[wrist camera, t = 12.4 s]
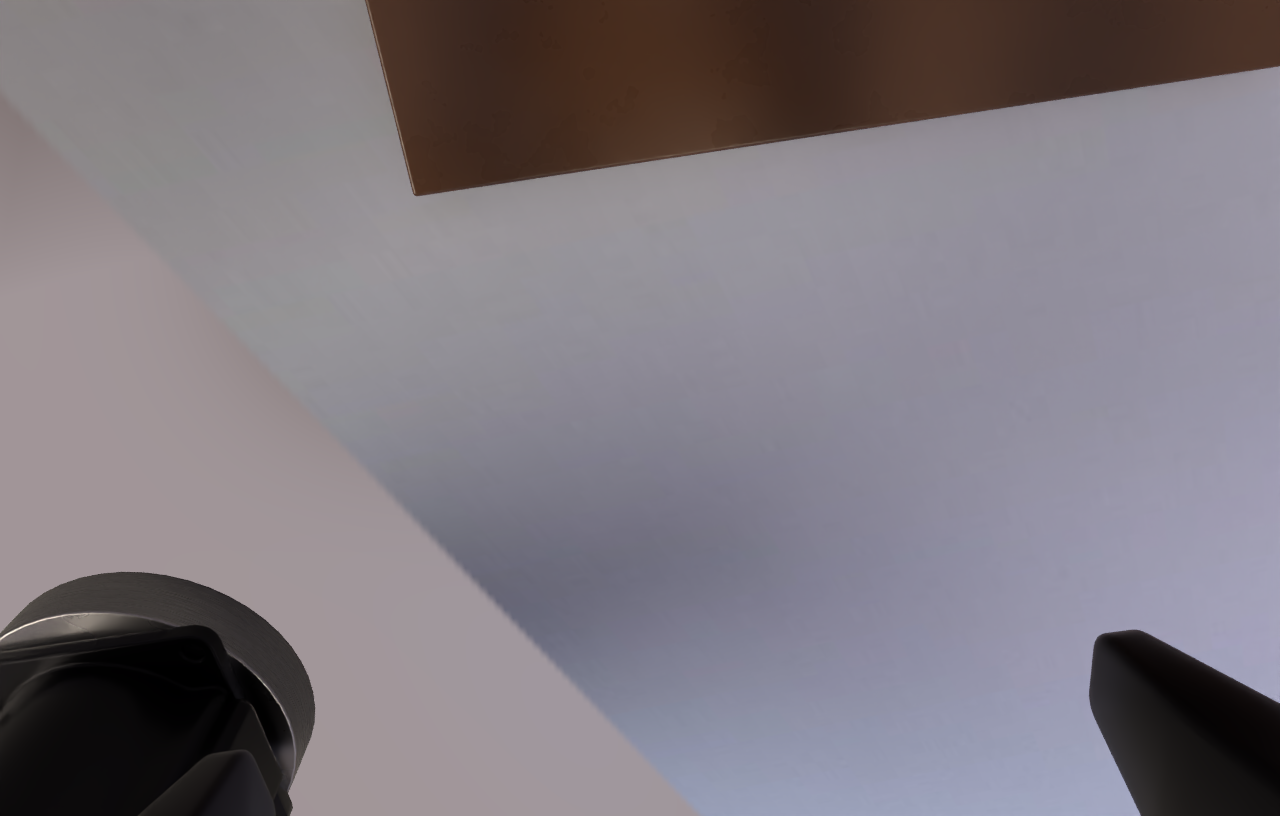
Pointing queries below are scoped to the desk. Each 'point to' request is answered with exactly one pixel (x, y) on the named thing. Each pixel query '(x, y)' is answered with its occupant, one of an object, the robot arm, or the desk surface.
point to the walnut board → (760, 70)
